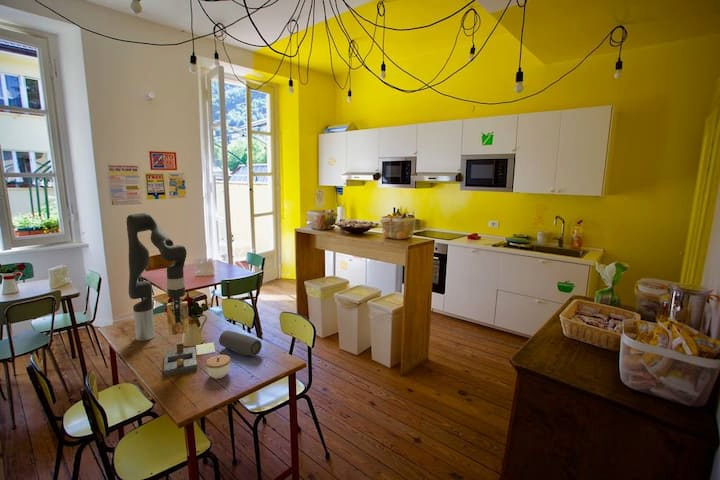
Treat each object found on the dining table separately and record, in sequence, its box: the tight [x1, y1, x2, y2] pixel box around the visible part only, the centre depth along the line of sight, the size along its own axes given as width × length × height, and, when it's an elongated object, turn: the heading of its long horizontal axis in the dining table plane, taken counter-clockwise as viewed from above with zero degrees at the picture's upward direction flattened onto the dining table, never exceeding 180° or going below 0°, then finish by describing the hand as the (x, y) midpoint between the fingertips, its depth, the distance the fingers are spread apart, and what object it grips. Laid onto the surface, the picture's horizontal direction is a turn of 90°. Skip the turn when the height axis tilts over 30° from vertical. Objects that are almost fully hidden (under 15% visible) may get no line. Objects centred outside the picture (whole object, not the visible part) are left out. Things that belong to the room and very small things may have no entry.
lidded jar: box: [205, 354, 231, 380], centre depth 164 cm, size 11×11×9 cm
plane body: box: [163, 341, 198, 377], centre depth 174 cm, size 20×14×7 cm
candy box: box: [166, 300, 190, 337], centre depth 171 cm, size 9×4×15 cm, turn 116°
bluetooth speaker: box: [218, 330, 263, 357], centre depth 187 cm, size 23×9×10 cm, turn 63°
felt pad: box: [195, 342, 216, 357], centre depth 190 cm, size 12×9×1 cm
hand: (178, 319), depth 171 cm, fingers closed on candy box, 4 cm apart
